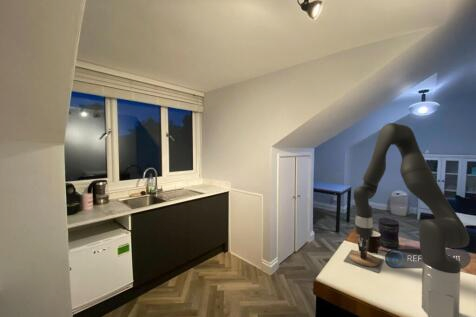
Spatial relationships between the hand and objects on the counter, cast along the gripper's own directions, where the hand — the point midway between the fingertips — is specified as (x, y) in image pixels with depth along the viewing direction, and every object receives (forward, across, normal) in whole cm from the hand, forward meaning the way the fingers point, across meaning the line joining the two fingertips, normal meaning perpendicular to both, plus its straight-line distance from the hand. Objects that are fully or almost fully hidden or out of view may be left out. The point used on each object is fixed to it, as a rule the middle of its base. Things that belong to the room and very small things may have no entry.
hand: (363, 257), depth 103 cm
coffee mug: (+2, +13, -1) cm, 13 cm away
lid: (+1, 0, 0) cm, 1 cm away
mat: (+2, 0, 0) cm, 2 cm away
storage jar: (+2, +27, -7) cm, 28 cm away
